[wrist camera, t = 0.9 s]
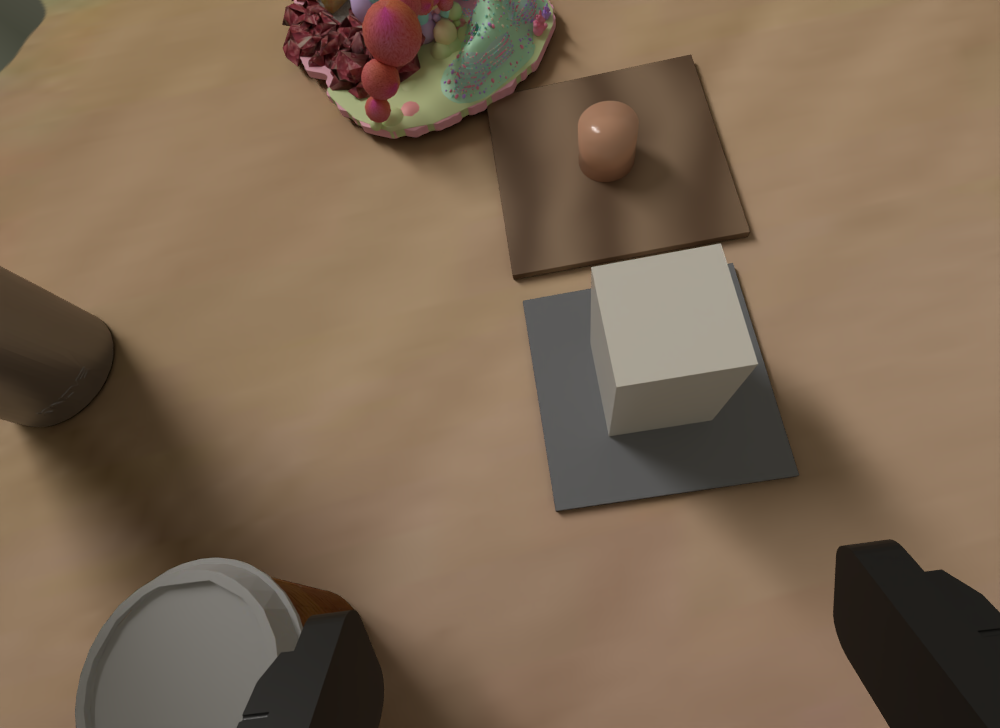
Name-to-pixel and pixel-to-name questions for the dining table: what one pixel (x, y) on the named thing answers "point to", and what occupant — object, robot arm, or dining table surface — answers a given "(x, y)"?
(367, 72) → the pastel sphere sculpture
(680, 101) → the board
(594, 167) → the glossy tan pebble
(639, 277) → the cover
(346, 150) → the dining table surface
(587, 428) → the mat
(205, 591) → the disposable coffee cup
